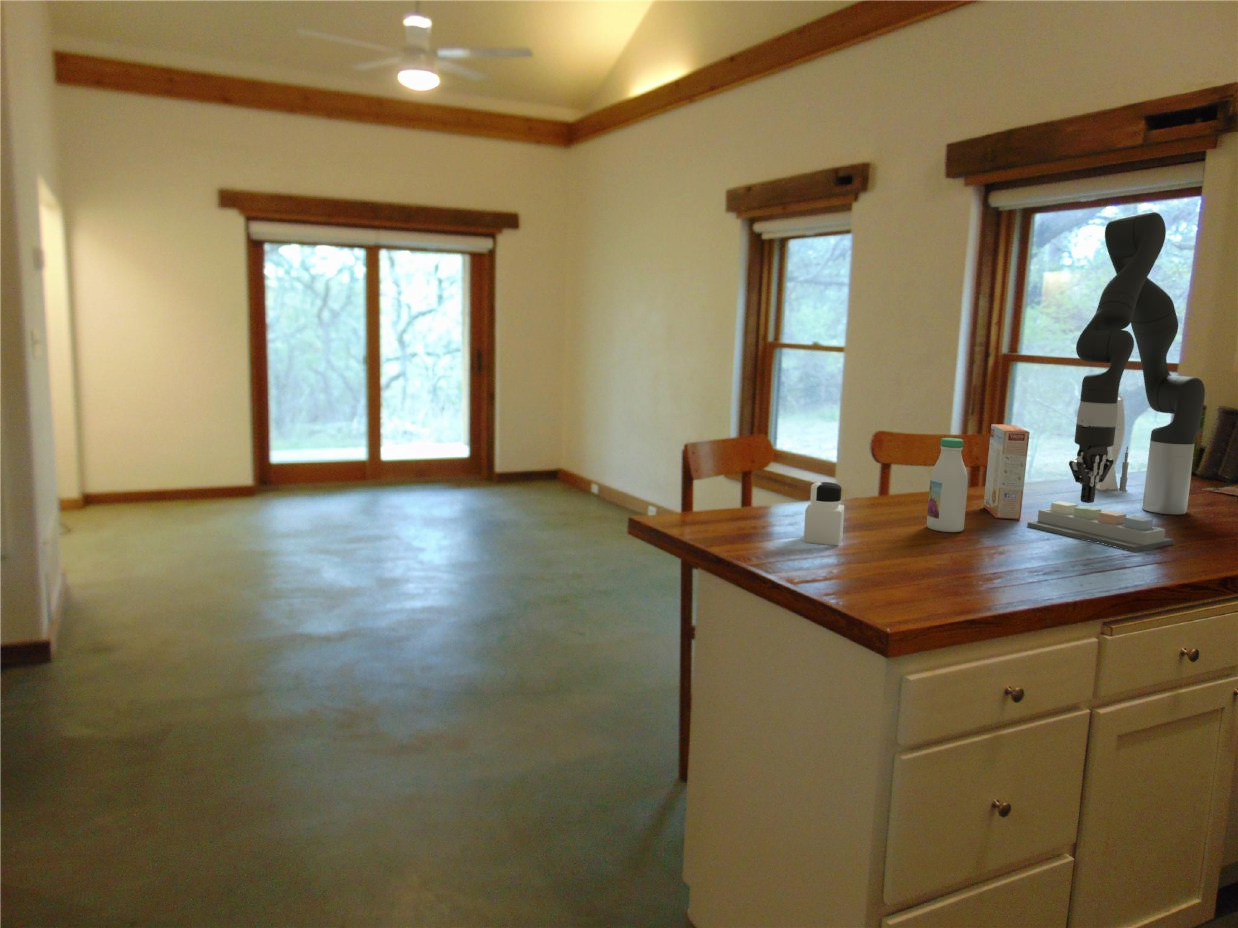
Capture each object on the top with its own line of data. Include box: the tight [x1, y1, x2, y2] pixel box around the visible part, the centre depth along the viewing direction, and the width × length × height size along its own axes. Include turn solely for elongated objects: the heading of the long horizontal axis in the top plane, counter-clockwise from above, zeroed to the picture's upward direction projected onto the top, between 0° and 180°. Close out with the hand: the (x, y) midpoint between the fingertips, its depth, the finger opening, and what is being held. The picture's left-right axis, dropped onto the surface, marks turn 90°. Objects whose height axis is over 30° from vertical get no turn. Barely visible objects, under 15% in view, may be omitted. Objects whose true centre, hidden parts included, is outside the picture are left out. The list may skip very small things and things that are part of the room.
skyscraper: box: [1096, 393, 1130, 492], centre depth 244 cm, size 8×8×28 cm
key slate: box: [1123, 515, 1154, 531], centre depth 183 cm, size 4×4×3 cm
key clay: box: [1098, 510, 1127, 525], centre depth 188 cm, size 4×4×3 cm
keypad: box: [1026, 507, 1174, 553], centre depth 190 cm, size 14×24×4 cm, turn 30°
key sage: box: [1074, 505, 1102, 520], centre depth 192 cm, size 4×4×3 cm
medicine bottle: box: [803, 481, 845, 547], centre depth 180 cm, size 7×7×12 cm
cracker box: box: [983, 423, 1030, 521], centre depth 209 cm, size 14×6×21 cm, turn 168°
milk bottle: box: [926, 437, 969, 533], centre depth 192 cm, size 8×8×20 cm
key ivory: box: [1050, 500, 1079, 515], centre depth 197 cm, size 4×4×3 cm
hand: (1087, 502), depth 192 cm, fingers closed
